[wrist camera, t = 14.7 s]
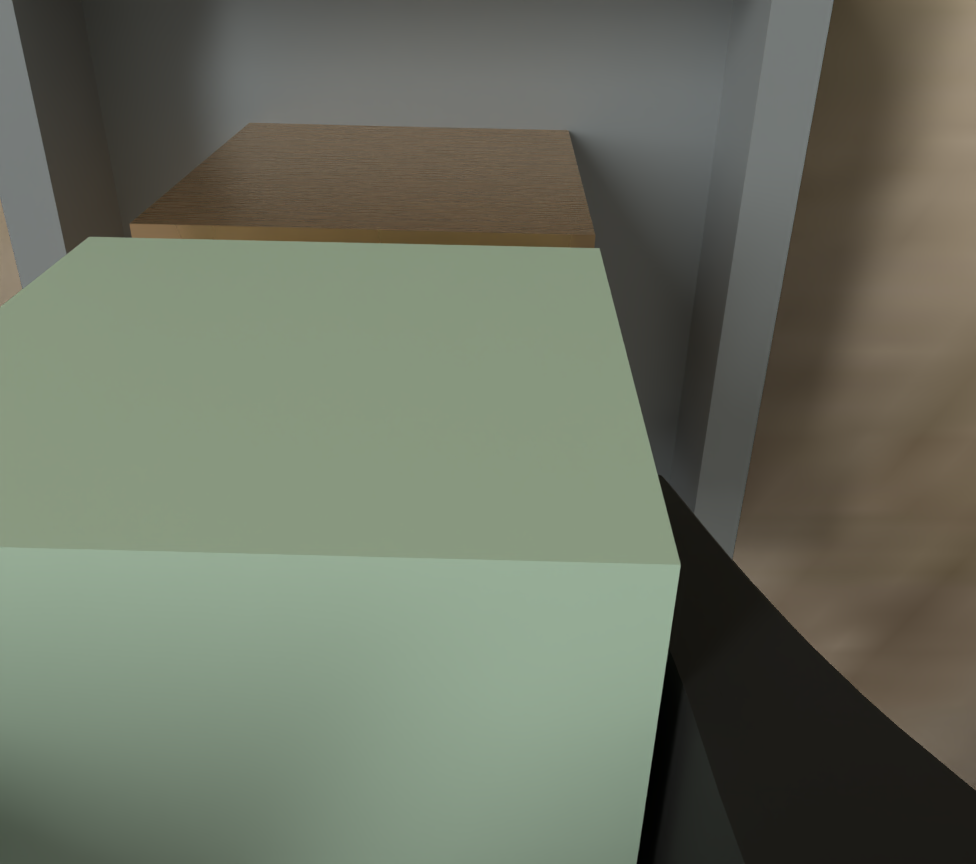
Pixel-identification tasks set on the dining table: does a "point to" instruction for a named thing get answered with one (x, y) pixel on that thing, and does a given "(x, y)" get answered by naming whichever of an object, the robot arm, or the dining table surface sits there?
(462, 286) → the light box
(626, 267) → the tote
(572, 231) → the brown box
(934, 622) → the dining table surface
